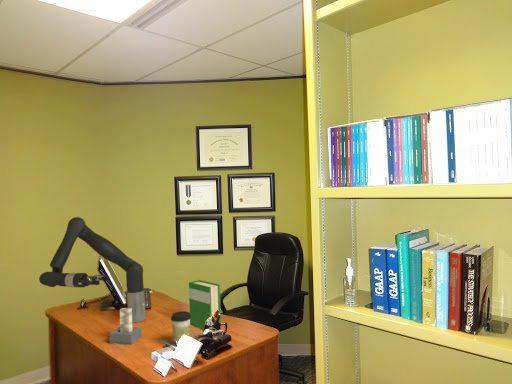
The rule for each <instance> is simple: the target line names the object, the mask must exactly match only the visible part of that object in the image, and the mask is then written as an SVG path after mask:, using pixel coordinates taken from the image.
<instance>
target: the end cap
mask: <svg viewBox="0 0 512 384" xmlns="http://www.w3.org/2000/svg"><path fill="white" fill-rule="evenodd" d="M132 329H133V330H132V331H131V332H129V333H127V332H120V326H119V327H117V328H115V329H114V330H112V331H111V332H110V333H109V334H108V335H109V344H110V343H117V344H116V345H127V344H130V346H132V345H133V344H135V343H136V342H137V341H138V340H139V338H140V339H141V338H142V335H143V334H142V327H139V326H132ZM135 341H136V342H135Z"/></svg>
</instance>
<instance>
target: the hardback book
mask: <svg viewBox="0 0 512 384" xmlns="http://www.w3.org/2000/svg"><path fill="white" fill-rule="evenodd" d="M188 294H189V295H188V297H189V298H188V301H189V302H188V303H189V304H188V305H189V313H190V315H191V319H190V326H193V327H195V328H197V329H201V330H203V329H204V325H205V321H206V320H207V319H208V318H209V317H211V316H213V315H214V314H215V312H216V311H217V310H218V311H219V313H220V319H219V322H220V324H221V325H222V317H221V315H222V313H221V311H222V309H221V285H220V284H219V283H217V282H216V283H215V282H210V281H207V280H201V279H196V280H193V281H189V282H188Z"/></svg>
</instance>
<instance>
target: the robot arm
mask: <svg viewBox="0 0 512 384" xmlns="http://www.w3.org/2000/svg"><path fill="white" fill-rule="evenodd" d="M78 239H80V240H82V241H83V242H85V244H87V245H88V246H89V247H90V248H91V249H92V250H94V252H96V253H97V254H98V255H100V256H101V257H102V258H104V260H106V261H108V262H110V263H112V264H115V265H117V266H118V267H120V268H121V269H122V270H123V271H124V272H126V273H125V276H126V278H125V279H126V290H127V293H126V294H127V297H126V298H127V308H132V324H133V323H139V322H142V321H145V320H146V319H147V317H146V303H145V295H144V294H145V293H144V292H145V289H144V287H145V286H144V268H143V265H141V264H140V263H139V262H138V261H135V260H134V259H133V258H131V257H129V256H128V255H126V254H125V253H124V252H123V251H122V250H121V249H120V248H118V246H116V244H114V243H112V242H111V240H109V239H107V238H105V237H104V236H102V235H100V234H98V233H96V232H95V231H94V230H92V229H91V228H90V227H89V226H88V225H87V224H86V222H85V220H84V219H83V218H82V217H79V216H76V217H72V218H71V219H70V220H69V221H68V222H67V227H66V230H65V233H64V237H63V238H62V240H61V242H60V244H59V246H58V248H57V249H56V252H55V253H54V255H53V257H52V260H51V261H50V263H49V266H50V268H51V269H52V271H44V272H43V273H41V274H40V275H39V278H38V280H39V283H40V284H41V285H43V286H46V287H49V288H55V287H57V286H58V287H70V288H85V287H89V286H99V285H100V282H109V281H110V276H109V275H107V276H106V275H104V274H94V275H89V274H87V273H86V272H64V273H63V270H64V267H65V265H66V263H67V262H68V259H69V257H70V254H71V253H72V250H73V246H74V245H75V243H76V242H77V240H78Z"/></svg>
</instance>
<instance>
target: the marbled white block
mask: <svg viewBox="0 0 512 384" xmlns="http://www.w3.org/2000/svg"><path fill="white" fill-rule="evenodd" d="M119 325H120V326H119V327H120V332H127V333H129V332H131V331H132V330H133V329H132V327H133V323H132V308H128V307H121V308H120V309H119Z"/></svg>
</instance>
